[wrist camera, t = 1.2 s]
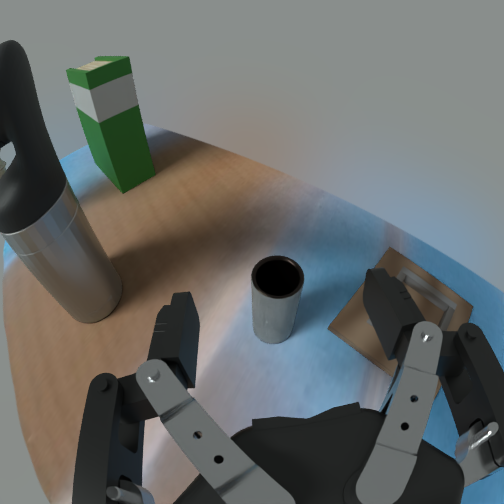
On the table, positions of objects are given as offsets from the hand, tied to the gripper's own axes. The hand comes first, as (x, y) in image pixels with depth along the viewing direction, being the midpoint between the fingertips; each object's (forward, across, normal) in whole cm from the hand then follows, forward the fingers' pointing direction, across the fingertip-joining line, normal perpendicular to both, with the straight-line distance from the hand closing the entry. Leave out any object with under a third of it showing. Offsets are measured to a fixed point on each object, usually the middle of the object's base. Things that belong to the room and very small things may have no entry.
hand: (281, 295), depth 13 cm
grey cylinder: (+13, 0, +17) cm, 21 cm away
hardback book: (+47, +26, +4) cm, 54 cm away
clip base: (+11, -18, +18) cm, 28 cm away
